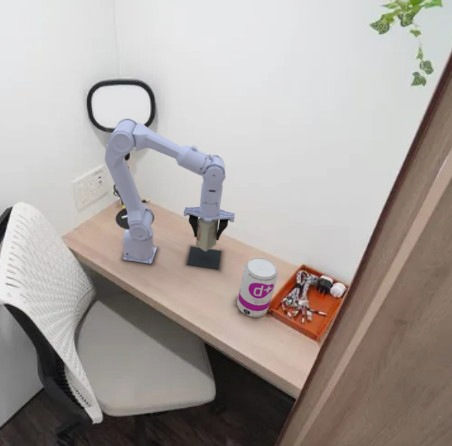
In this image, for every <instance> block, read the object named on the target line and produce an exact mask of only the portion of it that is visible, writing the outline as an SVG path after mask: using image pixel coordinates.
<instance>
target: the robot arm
mask: <svg viewBox="0 0 452 446" xmlns="http://www.w3.org/2000/svg"><path fill="white" fill-rule="evenodd" d="M134 148H135V150H134V151H135V152H139V151H141V150H144V149H151V150H154V151H156V152H158V153H161V154H163V155H165V156H168V157H171V158H172V159H175V161H176V164H177V165H178V166H179V167H180V168H184V169H186V170H187V171H190V172H191V173H194V174H196V175H198V176H201V177H202V183H201V188H200V199H199V206H191V207H190V206H185V207H184V208H183V216H184V217H188V223H189V225H190V227H191V229H192V231H193V236H194V238H197V220H198V219H199V218H203V219H204V221H208V222H211V221H212V220H219V221H218V231H217V238H216V240H217V241H219V240H220V238H221V235H222V234H223V232H224V231H225V230H226V229H227V227H228V226H229V222H230V223H235V217H236V213H235V212H230V211H227V210H224V209H222V208H221V201H222V196H223V189H224V188H223V187H224V185H223V183H224V181H225V179H226V177H227V176H226V167H225V161H224V159H223V158H222V157H220V156H219V155H218V154H207V153H205V152H203V151H201V150H199V149H198V146H196V145H189V144H186V145H183V146H181V145H179V144H177V143H175V142H174V141H171V140H170V139H168V138H166V137H164V136H162V135H161V134H159V133H157V132H155V131H153V130H152V129H150V128H148V126H146V125H145V124H143V123H141V122H137V121H136V120H134V119H132V118H127V117H126V118H123V119H121V120H120V121H118V123H117V124H116V126H115V128H114V129H113V131H112V133H111V135H110V136H109V137H108V139H107V141H106V148H105V154H104V162H105V164H106V167H107V169H108V171H109V173H110V174H109V175H110V176H111V178H112V180H113V183H114V185H115V187H116V190H117V192H118V194H119V196H120V199H121V201H122V203H123V206H124V208H125V210H126V214H127V224H128V229H126V230H125V231H124V234H123V237H122V249H123V260H124V261H129V262H136V263H142V264H148V265H151V264H153V261H154V258H155V255H156V252H157V250H158V249H157V247H156V246H154V230H153V228H152V224H153V220H154V213H153V212H152V211H151V210H150V209H149V208H148V205H147V204H146V203H144V202H143V201H142V198H141V196H140V194H139V193H140V192H139V191H138V189H137V186H136V184H135V181H134V178H133V176H132V173H131V171H130V168H129V166H128V164H127V161H126V156H127V155H128V154H129V153H131V151H133V149H134Z"/></svg>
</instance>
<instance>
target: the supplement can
mask: <svg viewBox="0 0 452 446" xmlns="http://www.w3.org/2000/svg"><path fill="white" fill-rule="evenodd" d="M278 276H279V273H278V270H277V266H276V264H275V263H273V262H272V261H271V260H269V259H268V258H264V257H253V258H251V259H249V260H248V262H246V264H245V265H244V266H243V272H242V276H241V280H240V287H239V291H238V295H237V301H236V305H237V308H238V309H239V311H240V312H241V313H243V314H244V315H246V316H248V317H251V318H252V317H253V318H260V317H263V316H265V315H266V314H267V313H268V311H269V308H270V305H271V300H272V297H273V294H274V291H275V287H276V284H277V280H278ZM267 310H268V311H267Z"/></svg>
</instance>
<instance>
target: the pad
mask: <svg viewBox="0 0 452 446" xmlns="http://www.w3.org/2000/svg"><path fill="white" fill-rule="evenodd" d="M221 254H222V250H220V249H219V250H218V249H212V248H211V249H209V250H208V251H206V252H205V251H204V250H202V249H201V248H199V247H198V246H190V249H189V253H188V257H187V262H186V266H193V267H197V268H204V269H211V270H215V271H217V270H220V263H221V256H222V255H221Z"/></svg>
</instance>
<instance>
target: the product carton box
mask: <svg viewBox="0 0 452 446" xmlns="http://www.w3.org/2000/svg"><path fill="white" fill-rule="evenodd" d="M219 221H220V219H219V220H212V221H211V222H208V221H204V219H203V218H200V217H198V220H197V237H195V238H196V239H195V240H196V241H195V247H199V248H201V249H202V250H204V251H205V252H206V251H208V250H209V249H212V248H214V247H215V246H216V245H217V241H218V240H216V238H217V232H218V228H219Z"/></svg>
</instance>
